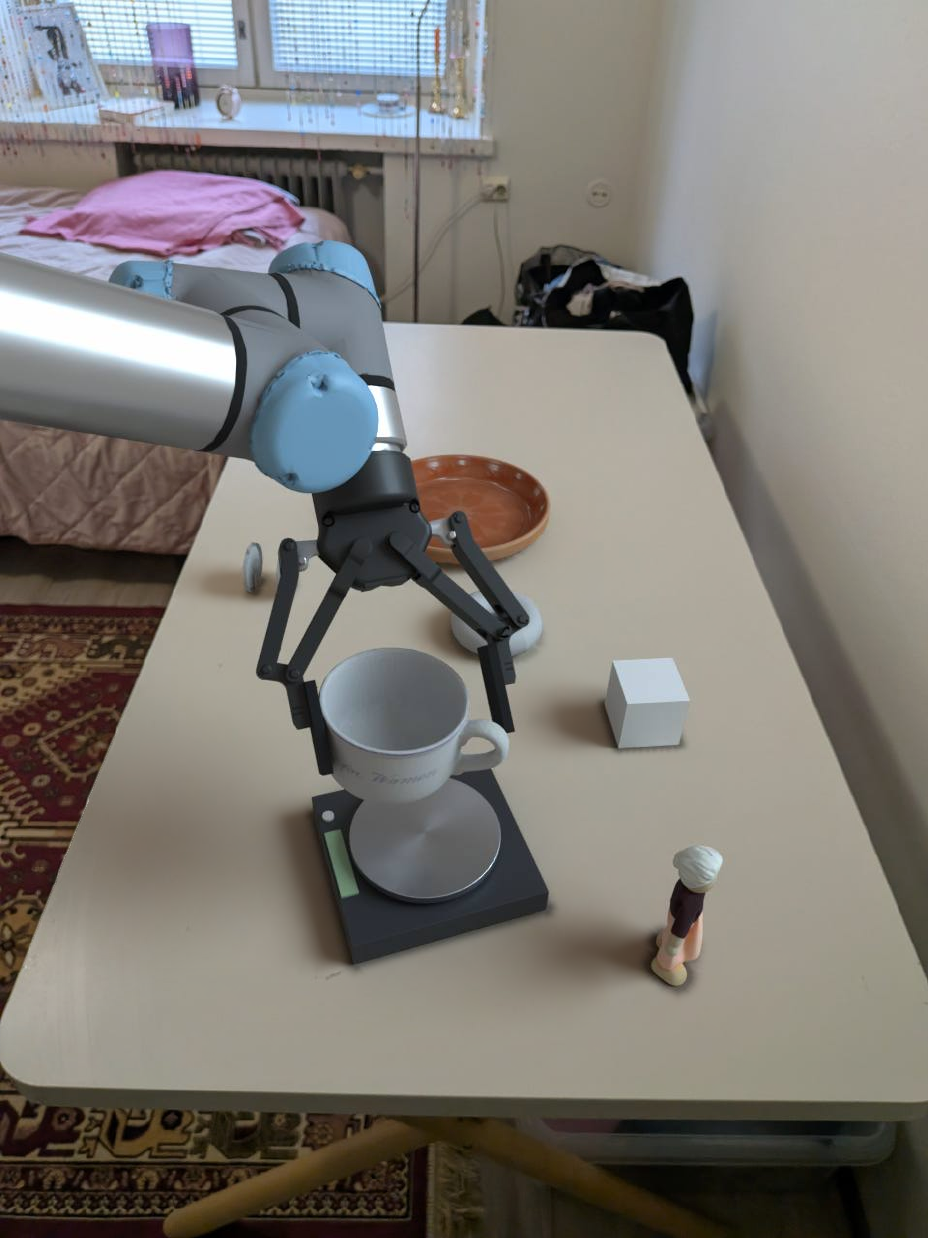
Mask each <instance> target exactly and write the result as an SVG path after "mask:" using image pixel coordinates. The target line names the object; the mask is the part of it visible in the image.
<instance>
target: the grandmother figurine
mask: <svg viewBox="0 0 928 1238" xmlns="http://www.w3.org/2000/svg"><path fill="white" fill-rule="evenodd" d="M723 862H724V859H723V857H722V855H721V854H720V853H719V852H718V851H717V850H716V849H714V848H712V847H710V846H705V845H692V846H688V847H686V848H684V849H682V850H679V851H678V852H676V853H675V854H674V857H673V858H672V866H673V867H674V868H675V869H677V871H678V877H679V878H678V880H677V881H676V883H675V884H674V886H673V889H672V892H671V896H670V899H669V906H668V911H667V918H666V919H667V920H666V921H667V922H666V923H667V925H666V927H665V929H664V931H661V932H659V933H658V934H657V936H656V941H655V944H656V946H657V948H658V952H657V955H656V956H655V957H654V958H653V959H652V961H651V963H650V968H651V971H653V973H655V974H656V975H657V976H658V977H660V978H661V979H662V980H663V981H665V982H666V983H667V984H669V985H671V986H674V987H678V986H681V985H683V984H684V983H685V981H686V980H687V978H688V977H687V976H688V973H687V968H686V967H685V966H684V962H686V963H687V962H693V961H695V960H696V959H698V958H699V956H700V954H701V950H702V949H701V948H702V943H703V931H704V930H703V929H704V928H703V911H704V901H705V896H706V893H708V892H709V891H711V890H712V889H714V887H716V886H715V885H717V882H718V879H719V872H720V869H721V867H722V865H723Z"/></svg>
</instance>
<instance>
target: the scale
mask: <svg viewBox="0 0 928 1238" xmlns="http://www.w3.org/2000/svg"><path fill="white" fill-rule="evenodd" d="M449 778H452V779H454V780H457V781H460V782H462V783H464V784H466V785H468V786H470V787H471V788H473V789H475V790H476V791H477V792H478V793H480V794H481V795H482V796H483V797H484V798H485V799H486V800H487V801H488V803H489V804H490V805H491V807H492V808H493V810H494V812H495V814H496V816H497V818H498V821H499V825H500V830H501V842H500V850H499V854H498V858H497V861H496V863H495V865H494V867H493V869H492V870H491V872H490V873H489V875H488V876H487V877H486V878H485V879H484V880H483V881H482V882H481V883H480V884H479V885H477V886H476V887H475V888H474V889H472V890H470V891H469V892H467V893H465V894H463V895H461V896H459V897H457V898H454V899H451V900H448V901H443V902H438V903H412V902H406V901H402V900H398V899H395V898H392V897H390V896H387V895H386V894H384V893H382V892H380V891H378V890H377V889H376V888H374V887H373V886H372V885H370V884H369V883H368V882H367V881H366V880H365V879H364V878H363V876H362V875H361V874H360V872H359V871H358V869H357V867H356V866H355V864H354V861H353V859H352V855H351V851H350V840H349V834H350V826H351V823H352V819H353V817H354V815H355V813H356V811H357V809H358V808H359V806H360V805H361V804H362V802H363V801H364V800H363V799H361V798H359V797H356V796H355V795H353V794H351V793H349V792H348V791H346V790H345V789H344V788H343V789H339V790H335V791H331V792H326V793H323V794H319V795H313V796H312V797H311V803H312V804H311V805H312V814H313V819H314V822H315V826H316V830H317V834H318V837H319V840H320V845H321V848H322V849H321V850H322V852H323V857H324V859H325V864H326V868H327V871H328V875H329V878H330V882H331V886H332V889H333V893H334V897H335V900H336V905H337V908H338V912H339V917H340V920H341V924H342V928H343V931H344V935H345V939H346V942H347V946H348V950H349V954H350V957H351V961H352V965H356V964H360V963H363V962H368V961H371V960H374V959H379V958H381V957H384V956H385V957H386V956H389V955H392V954H395V953H398V952H399V953H400V952H402V951H406V950H410V949H413V948H416V947H419V946H424V945H426V944H427V945H428V944H430V943H434V942H437V941H440V940H444V939H448V938H450V937H454V936H459V935H461V934H462V935H463V934H466V933H469V932H473V931H475V930H476V931H477V930H479V929H482V928H486V927H490V926H493V925H496V924H500V923H503V922H507V921H511V920H514V919H518V918H521V917H524V916H528V915H532V914H535V913H538V912H542V911H546V910H547V907H548V900H549V895H550V890H549V889H548V886H547V884H546V882H545V880H544V877H543V875H542V874H541V871H540V870H539V867H538V865H537V863H536V861H535V859H534V857H533V855H532V852H531V850H530V848H529V846H528V844H527V842H526V840H525V837H524V835H523V833H522V830H521V828H520V827H519V825H518V823H517V820H516V818H515V816H514V814H513V812H512V810H511V807H510V806H509V803H508V801H507V799H506V797H505V794H504V793H503V791H502V789H501V786H500V784H499V783H498V780H497V777H496V776H495V774H494V772H493V768H490V769H486V770H480V771H468V772H463V773H462V774H460V775H451V776H450V777H449Z"/></svg>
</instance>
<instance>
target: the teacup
mask: <svg viewBox="0 0 928 1238" xmlns="http://www.w3.org/2000/svg"><path fill="white" fill-rule="evenodd" d="M318 696H319V701H320V706H321V711H322V716H323V721H324V726H325V731H326V736H327V741H328V746H329V751H330V756H331V761H332V766H333V771H334V773H333V774H330V775H331V777H332V778H333V779H334V780H335V782H336V783H337V784H338V785H339V786H340V787H341V788H343V789H345V790H346V791H348V792H349V793H351V794H353V795H355V796H356V797H359V798H361V799H363V800H366V801H370V802H374V803H378V804H388V805H396V804H406V803H411V802H414V801H418V800H420V799H423V798H425V797H427V796H429V795H431V794H432V793H434V792H435V791H437V790H438V789H439V788H440V787H441V786H442V785H443V784H444V783H445V782H446V781H447V780H448V778H449V777H450V776H451V775H460V774H462V773H463V772H468V771H480V770H486V769H490V768H491V769H493V768H496V767H498V766H500V764H502V763H503V762H504V760H505V759H506V757H507V756H508V754H509V749H510V740H509V736H508V733H506V732H505V731H504V729H503V728H502V727H501V726H500V725H498V724H496V723H494V722H492V720H490V719H485V718H484V719H483V718H476V719H470V720H468V717H469V712H470V694H469V690H468V688H467V686H466V683H465V682H464V680H463V679H462V677H461V676H460V674H458V672H457V671H456V670H455V669H454V668H453V667H451V666H450V665H449V664H447V663H446V662H445V661H443V660H442V659H439V658H438V657H436V656H434V655H432V654H429V653H427V652H423V651H420V650H417V649H412V648H405V647H379V648H372V649H367V650H364V651H360V652H358V653H355V654H353V655H351V656H348V657H347V658H345V659H344V660H342V661H340V662H339V663H338V664H336V665H335V666H334V667H333V668H332V669H331V670H330V671H329V672H328V673H327V674H326V675H325V677H324V679H323V681H322V682H321V685H320V687H319V691H318ZM473 738H481V739H484V740H487V741H488V742H489V743H491V744H492V745H493V747H494V749H492V750H489V751H487V752H481V753H471V754H470V753H462V752H461V751H462V749H463V747H465V745H467V743H468V741H469V740H471V739H473Z"/></svg>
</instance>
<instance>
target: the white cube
mask: <svg viewBox="0 0 928 1238" xmlns="http://www.w3.org/2000/svg"><path fill="white" fill-rule="evenodd" d="M606 689H607V690H606V695H605V699H604V706H605V710H606V713H607V716H608V720H609V723H610V726H611V731H612V732H613V735H614V739H615V742H616V745H617V748H618V749H630V748H646V747H647V748H648V747H650V748H651V747H664V746H665V747H666V746H679V745H680V742H681V737H682V734H683V730H684V726H685V722H686V719H687V715H688V710H689V707H690V704H691V699H690V696H689V693H688V692H687V689H686V687H685V684H684V682H683V680H682V677H681V675H680V672H679V670H678V668H677V665H676V662H675V660H674V658H673V657H659V658H657V657H656V658H639V659H637V658H636V659H635V658H634V659H621V660H620V659H615V660H612V661H611V668H610V672H609V678H608V684H607V688H606Z"/></svg>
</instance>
